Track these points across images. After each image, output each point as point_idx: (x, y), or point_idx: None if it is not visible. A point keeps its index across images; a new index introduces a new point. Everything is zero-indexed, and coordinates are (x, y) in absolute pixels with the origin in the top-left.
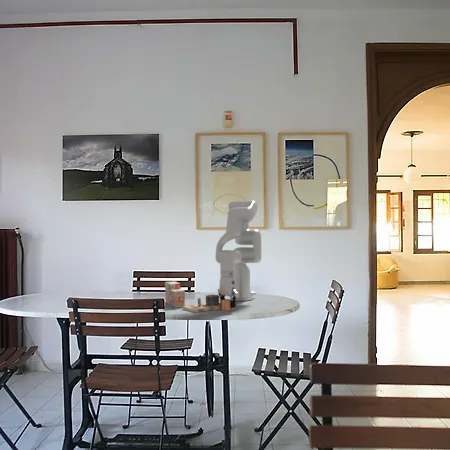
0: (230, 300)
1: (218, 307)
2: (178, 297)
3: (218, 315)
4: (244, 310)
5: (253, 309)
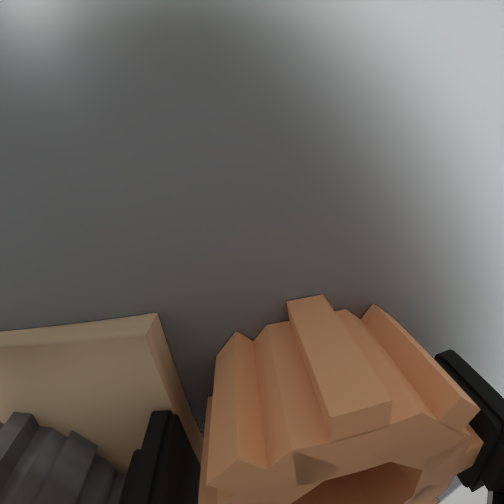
0: (344, 462)
1: None
2: None
3: (450, 489)
4: (499, 225)
5: (499, 83)
